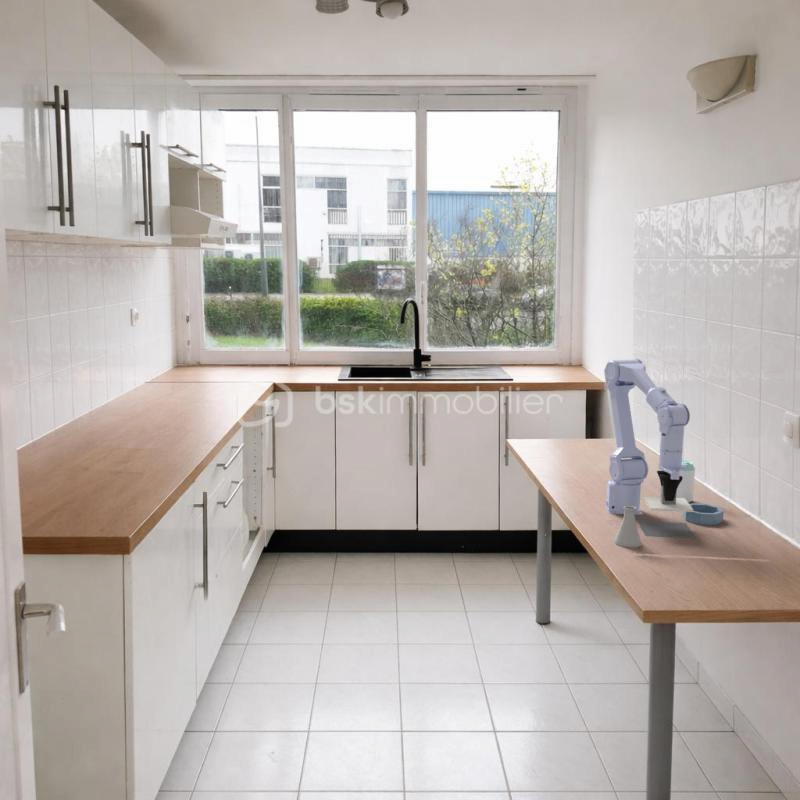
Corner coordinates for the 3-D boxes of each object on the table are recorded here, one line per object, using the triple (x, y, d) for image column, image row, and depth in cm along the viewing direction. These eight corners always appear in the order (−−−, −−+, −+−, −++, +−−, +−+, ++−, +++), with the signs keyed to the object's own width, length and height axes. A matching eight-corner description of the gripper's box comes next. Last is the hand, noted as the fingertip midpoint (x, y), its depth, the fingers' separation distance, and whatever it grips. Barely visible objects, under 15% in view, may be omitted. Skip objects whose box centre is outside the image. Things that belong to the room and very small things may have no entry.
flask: (640, 551, 224) (643, 512, 223) (611, 547, 227) (613, 509, 225) (643, 542, 231) (645, 505, 229) (614, 539, 234) (617, 502, 232)
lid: (650, 510, 234) (651, 491, 234) (643, 498, 245) (644, 480, 244) (693, 511, 233) (694, 493, 232) (684, 500, 244) (685, 482, 243)
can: (683, 497, 274) (686, 459, 272) (697, 503, 268) (700, 464, 265) (663, 498, 272) (666, 460, 270) (677, 505, 265) (680, 465, 263)
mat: (645, 537, 235) (645, 535, 235) (637, 522, 248) (637, 521, 247) (696, 539, 233) (696, 538, 233) (685, 524, 246) (685, 523, 246)
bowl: (687, 525, 246) (688, 513, 245) (680, 514, 255) (681, 503, 255) (725, 527, 245) (726, 514, 244) (716, 516, 255) (717, 504, 254)
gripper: (692, 456, 229) (689, 507, 231) (681, 444, 243) (677, 492, 246) (664, 455, 230) (661, 506, 232) (654, 443, 244) (651, 491, 246)
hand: (667, 499), depth 239 cm, fingers closed on lid, 2 cm apart
